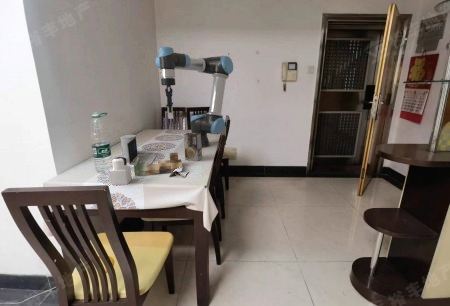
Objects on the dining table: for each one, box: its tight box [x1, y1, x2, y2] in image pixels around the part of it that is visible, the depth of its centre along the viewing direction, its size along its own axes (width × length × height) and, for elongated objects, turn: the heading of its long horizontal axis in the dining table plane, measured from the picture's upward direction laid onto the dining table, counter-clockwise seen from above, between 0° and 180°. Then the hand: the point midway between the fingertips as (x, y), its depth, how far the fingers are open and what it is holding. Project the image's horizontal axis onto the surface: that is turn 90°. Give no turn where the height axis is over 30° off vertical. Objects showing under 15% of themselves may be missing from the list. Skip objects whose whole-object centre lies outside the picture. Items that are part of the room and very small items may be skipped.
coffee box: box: [183, 132, 203, 162], centre depth 145 cm, size 9×6×16 cm
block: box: [169, 152, 179, 163], centre depth 134 cm, size 4×4×4 cm
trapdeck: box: [133, 157, 184, 177], centre depth 129 cm, size 24×15×6 cm, turn 103°
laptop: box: [127, 136, 157, 166], centre depth 144 cm, size 18×12×13 cm
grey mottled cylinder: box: [119, 134, 139, 157], centre depth 156 cm, size 10×10×12 cm
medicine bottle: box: [109, 156, 132, 186], centre depth 111 cm, size 7×7×12 cm
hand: (170, 117), depth 136 cm, fingers open, 12 cm apart
